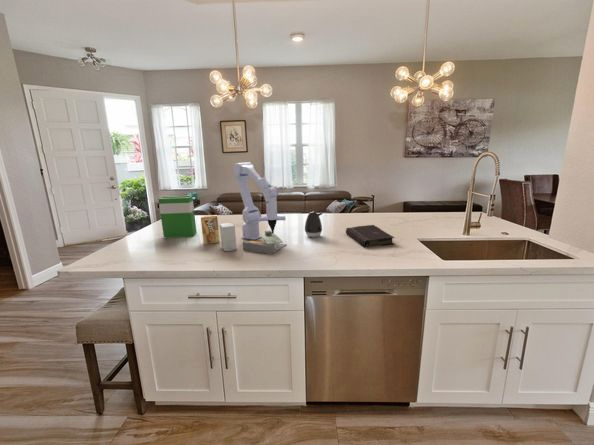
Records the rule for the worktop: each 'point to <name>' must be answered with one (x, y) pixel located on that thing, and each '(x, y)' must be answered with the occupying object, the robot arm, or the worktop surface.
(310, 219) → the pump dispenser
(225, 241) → the small box
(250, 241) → the cylinder
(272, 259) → the worktop surface
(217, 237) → the candy box
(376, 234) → the diary
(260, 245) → the large grey box
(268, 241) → the cover
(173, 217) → the green cereal box
